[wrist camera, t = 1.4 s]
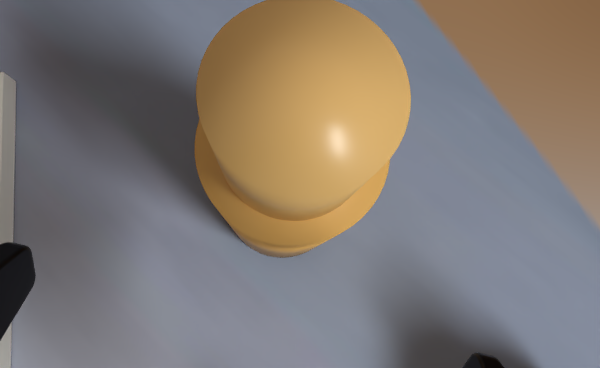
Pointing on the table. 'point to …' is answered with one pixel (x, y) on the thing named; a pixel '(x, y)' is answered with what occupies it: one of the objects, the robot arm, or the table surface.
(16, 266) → the robot arm
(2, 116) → the plate
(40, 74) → the table surface
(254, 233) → the stepped tan cylinder
